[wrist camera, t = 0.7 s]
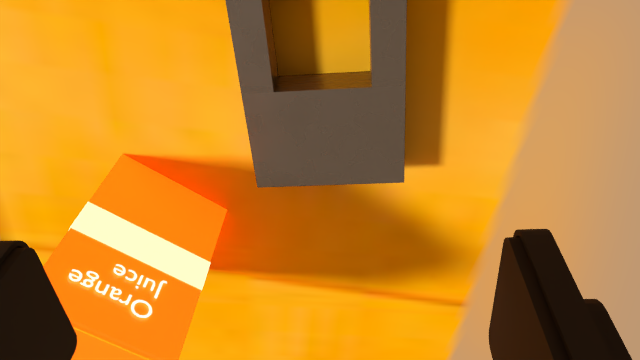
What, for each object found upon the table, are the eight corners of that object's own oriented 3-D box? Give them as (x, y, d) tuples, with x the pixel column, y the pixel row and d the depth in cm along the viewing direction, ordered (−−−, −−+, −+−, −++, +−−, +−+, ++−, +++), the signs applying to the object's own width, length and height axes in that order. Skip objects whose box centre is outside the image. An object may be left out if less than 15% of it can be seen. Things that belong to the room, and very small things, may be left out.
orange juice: (122, 151, 38) (-54, 399, 22) (229, 208, 41) (144, 471, 24) (86, 220, 42) (-88, 476, 26) (185, 269, 45) (86, 532, 28)
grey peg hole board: (210, -157, 27) (199, -156, 25) (404, -175, 27) (409, -175, 25) (262, 168, 38) (257, 187, 36) (401, 162, 38) (404, 182, 36)
